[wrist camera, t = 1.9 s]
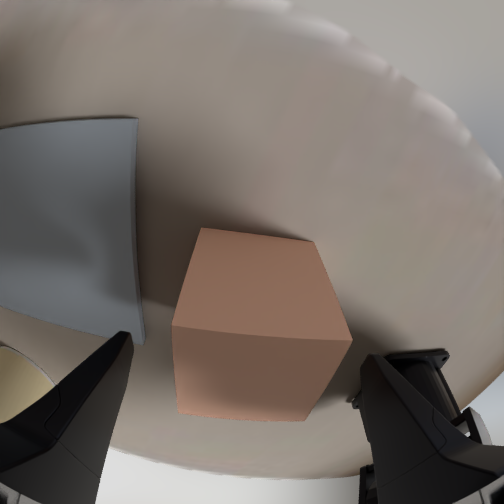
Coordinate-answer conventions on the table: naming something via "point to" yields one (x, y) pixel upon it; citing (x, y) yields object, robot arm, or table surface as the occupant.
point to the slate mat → (71, 225)
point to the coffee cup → (19, 383)
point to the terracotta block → (255, 328)
